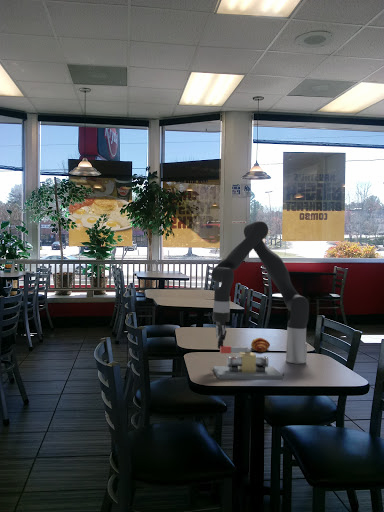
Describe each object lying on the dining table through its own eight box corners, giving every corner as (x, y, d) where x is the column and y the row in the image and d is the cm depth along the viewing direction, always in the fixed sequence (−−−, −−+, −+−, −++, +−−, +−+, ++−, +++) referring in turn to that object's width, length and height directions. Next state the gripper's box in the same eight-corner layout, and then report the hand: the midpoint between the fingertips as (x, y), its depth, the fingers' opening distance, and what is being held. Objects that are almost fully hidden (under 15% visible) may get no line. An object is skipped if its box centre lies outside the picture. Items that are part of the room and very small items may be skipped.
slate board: (273, 369, 211) (273, 366, 211) (282, 379, 196) (282, 375, 196) (213, 369, 208) (213, 366, 208) (218, 378, 193) (218, 375, 193)
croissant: (254, 351, 266) (248, 338, 267) (270, 343, 265) (264, 331, 266) (255, 358, 245) (248, 345, 246) (272, 350, 244) (265, 337, 245)
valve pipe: (264, 369, 206) (265, 352, 206) (268, 372, 200) (269, 355, 200) (226, 368, 204) (226, 352, 204) (228, 372, 198) (229, 355, 198)
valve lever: (249, 352, 204) (250, 346, 204) (251, 353, 201) (251, 347, 201) (220, 352, 202) (220, 345, 202) (221, 353, 199) (221, 346, 199)
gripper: (210, 308, 215) (209, 345, 215) (216, 312, 202) (215, 351, 202) (226, 308, 216) (225, 345, 217) (232, 312, 203) (231, 351, 203)
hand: (220, 348), depth 209 cm, fingers closed
